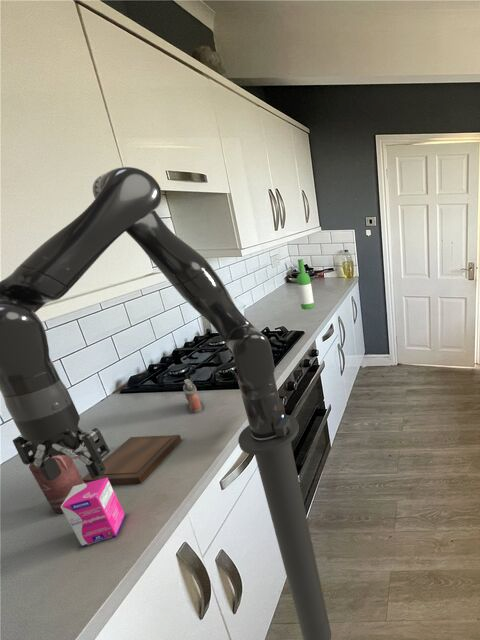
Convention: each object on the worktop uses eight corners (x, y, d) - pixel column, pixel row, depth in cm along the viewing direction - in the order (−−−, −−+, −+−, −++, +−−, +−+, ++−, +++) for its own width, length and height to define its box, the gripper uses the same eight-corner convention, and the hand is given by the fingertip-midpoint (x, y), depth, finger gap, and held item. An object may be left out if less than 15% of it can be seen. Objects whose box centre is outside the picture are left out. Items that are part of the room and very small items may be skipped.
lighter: (187, 404, 119) (179, 378, 115) (198, 400, 121) (190, 375, 117) (192, 414, 113) (183, 388, 109) (204, 410, 115) (195, 383, 112)
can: (76, 513, 79) (50, 464, 74) (46, 515, 78) (18, 466, 73) (97, 491, 84) (75, 445, 79) (70, 493, 84) (45, 447, 79)
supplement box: (81, 548, 70) (58, 507, 66) (93, 525, 76) (72, 485, 71) (117, 537, 73) (96, 496, 69) (126, 515, 78) (108, 475, 74)
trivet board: (181, 440, 101) (179, 434, 100) (141, 483, 86) (138, 476, 85) (132, 442, 101) (130, 436, 100) (83, 486, 86) (80, 479, 85)
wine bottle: (298, 308, 214) (290, 260, 203) (308, 305, 220) (301, 258, 209) (307, 310, 210) (299, 261, 199) (317, 307, 216) (310, 259, 205)
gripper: (100, 394, 67) (128, 461, 72) (24, 397, 66) (58, 464, 72) (63, 418, 60) (97, 490, 65) (-22, 421, 59) (19, 493, 65)
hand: (77, 476), depth 69 cm, fingers open, 8 cm apart
